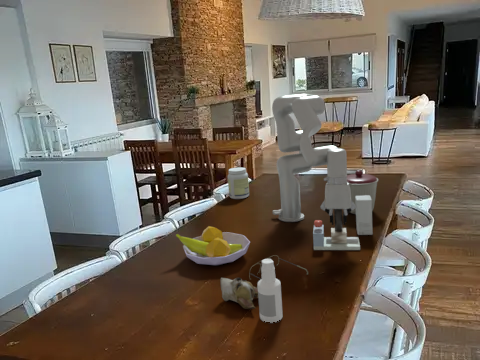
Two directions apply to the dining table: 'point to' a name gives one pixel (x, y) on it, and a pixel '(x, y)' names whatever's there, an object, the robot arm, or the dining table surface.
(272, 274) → the white bottle
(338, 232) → the carriage
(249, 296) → the ceramic sculpture
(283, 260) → the eyeglasses
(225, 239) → the fruit bowl
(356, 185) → the canister
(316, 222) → the button
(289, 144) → the robot arm
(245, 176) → the supplement tub
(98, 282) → the dining table surface
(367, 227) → the skincare box
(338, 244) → the rail board
